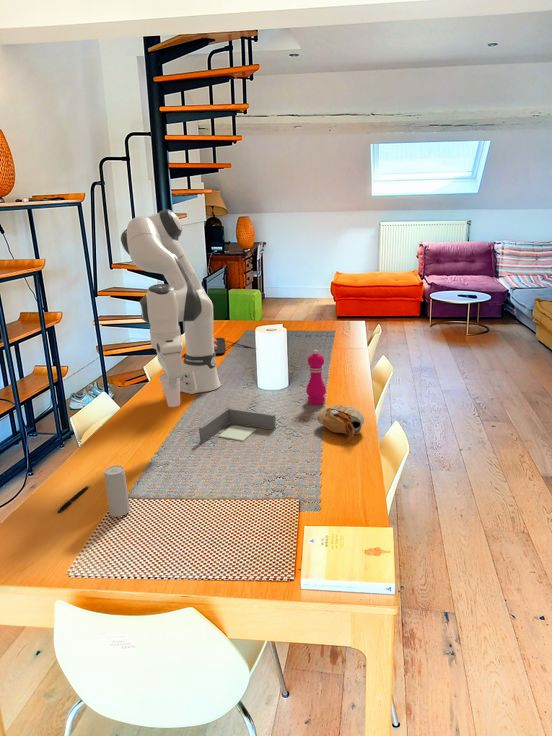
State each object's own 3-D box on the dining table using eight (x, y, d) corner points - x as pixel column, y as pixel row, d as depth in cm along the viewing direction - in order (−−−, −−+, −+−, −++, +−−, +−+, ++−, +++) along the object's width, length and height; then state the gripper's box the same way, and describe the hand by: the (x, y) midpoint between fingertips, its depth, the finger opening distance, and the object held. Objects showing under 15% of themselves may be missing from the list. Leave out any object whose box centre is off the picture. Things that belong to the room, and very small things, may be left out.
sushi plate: (197, 342, 293) (196, 335, 292) (254, 338, 296) (253, 331, 295) (195, 358, 266) (195, 350, 264) (258, 354, 268) (258, 346, 267)
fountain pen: (88, 486, 153) (88, 481, 152) (92, 486, 153) (91, 481, 152) (55, 514, 140) (54, 509, 139) (59, 515, 140) (59, 510, 139)
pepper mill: (324, 405, 202) (324, 352, 196) (305, 404, 203) (304, 352, 197) (327, 398, 209) (326, 347, 202) (308, 397, 210) (307, 346, 204)
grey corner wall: (200, 442, 176) (199, 427, 175) (228, 420, 192) (227, 407, 190) (250, 451, 169) (250, 436, 167) (275, 428, 184) (275, 414, 183)
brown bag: (371, 449, 169) (321, 452, 169) (360, 417, 189) (316, 420, 189) (370, 425, 166) (320, 429, 167) (360, 395, 186) (315, 399, 186)
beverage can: (112, 508, 141) (106, 466, 137) (131, 507, 141) (125, 464, 138) (108, 519, 137) (101, 475, 133) (128, 517, 137) (122, 474, 133)
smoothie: (188, 401, 174) (181, 358, 169) (178, 409, 168) (171, 365, 163) (170, 400, 176) (163, 358, 171) (159, 408, 170) (152, 365, 166)
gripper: (150, 333, 173) (154, 375, 178) (161, 350, 155) (166, 396, 160) (170, 331, 175) (174, 372, 180) (183, 347, 157) (188, 392, 162)
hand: (170, 384), depth 170 cm, fingers closed on smoothie, 6 cm apart
